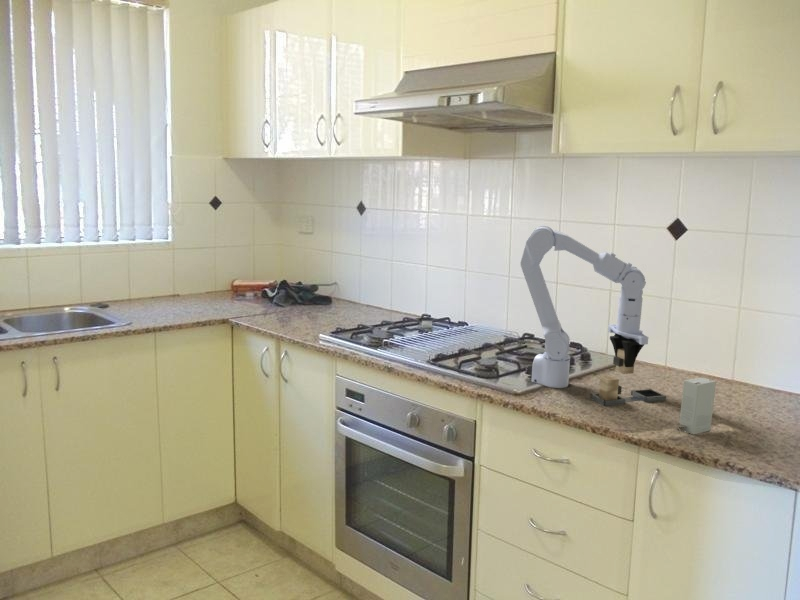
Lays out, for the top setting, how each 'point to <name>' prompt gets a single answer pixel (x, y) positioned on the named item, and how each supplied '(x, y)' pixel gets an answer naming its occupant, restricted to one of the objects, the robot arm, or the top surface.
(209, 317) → the top surface
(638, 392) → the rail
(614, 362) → the beige wooden block
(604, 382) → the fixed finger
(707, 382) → the skincare box
